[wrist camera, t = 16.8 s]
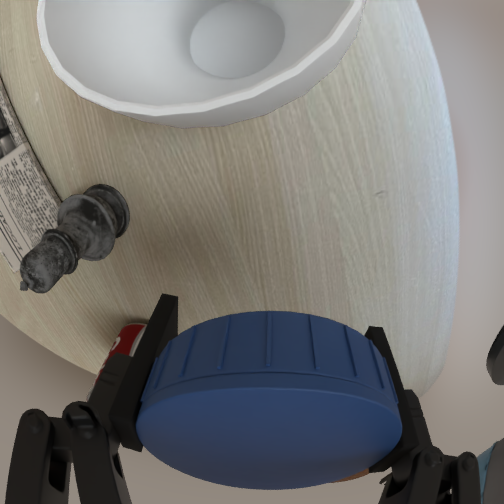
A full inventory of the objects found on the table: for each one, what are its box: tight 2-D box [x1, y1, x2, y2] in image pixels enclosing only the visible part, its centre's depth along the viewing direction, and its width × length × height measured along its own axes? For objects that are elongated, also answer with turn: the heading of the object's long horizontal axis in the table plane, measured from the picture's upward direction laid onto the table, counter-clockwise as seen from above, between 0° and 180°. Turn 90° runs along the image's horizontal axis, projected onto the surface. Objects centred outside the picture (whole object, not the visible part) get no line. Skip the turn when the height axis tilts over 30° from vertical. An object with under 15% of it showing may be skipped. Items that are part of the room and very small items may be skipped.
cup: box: [37, 0, 366, 128], centre depth 11 cm, size 11×11×15 cm
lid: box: [136, 311, 402, 490], centre depth 10 cm, size 9×9×3 cm
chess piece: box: [20, 184, 130, 293], centre depth 19 cm, size 6×6×12 cm
